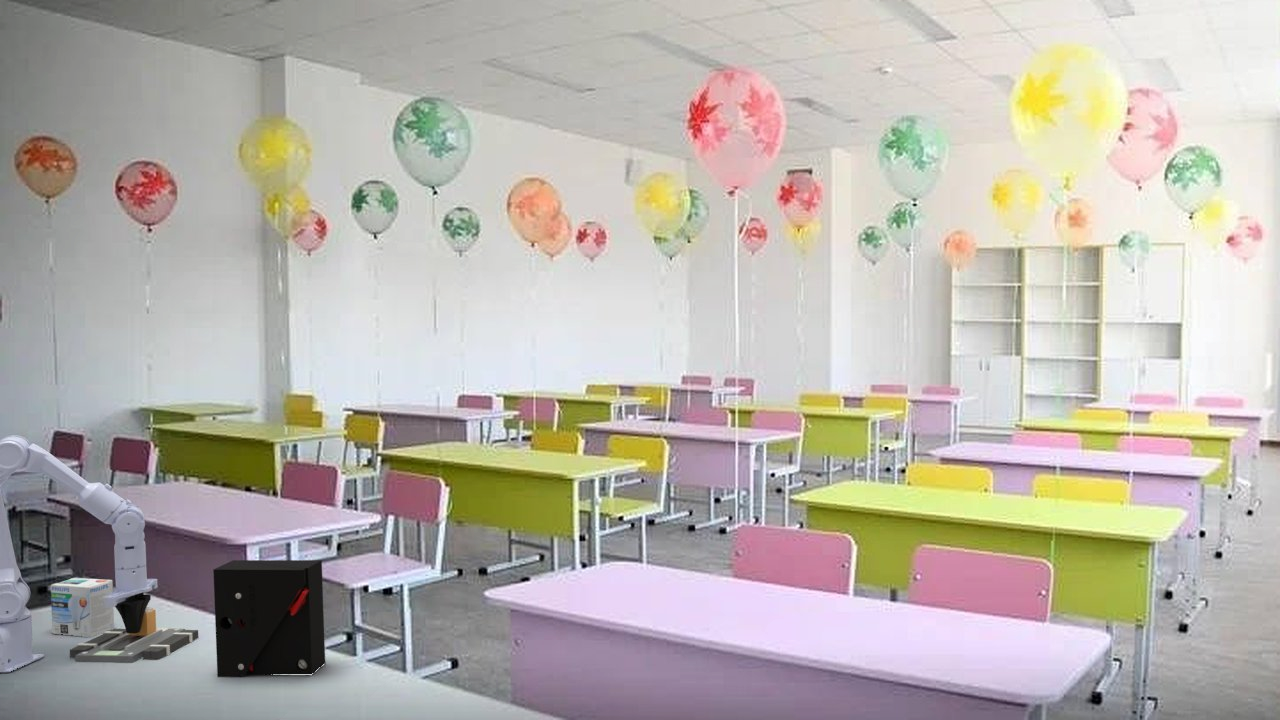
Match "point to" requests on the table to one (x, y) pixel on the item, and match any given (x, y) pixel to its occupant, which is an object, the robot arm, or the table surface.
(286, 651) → the electrical component
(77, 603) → the light bulb box
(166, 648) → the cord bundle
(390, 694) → the table surface
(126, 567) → the robot arm
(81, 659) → the breaker panel
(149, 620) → the breaker knob
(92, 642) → the cord bundle
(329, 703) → the table surface
